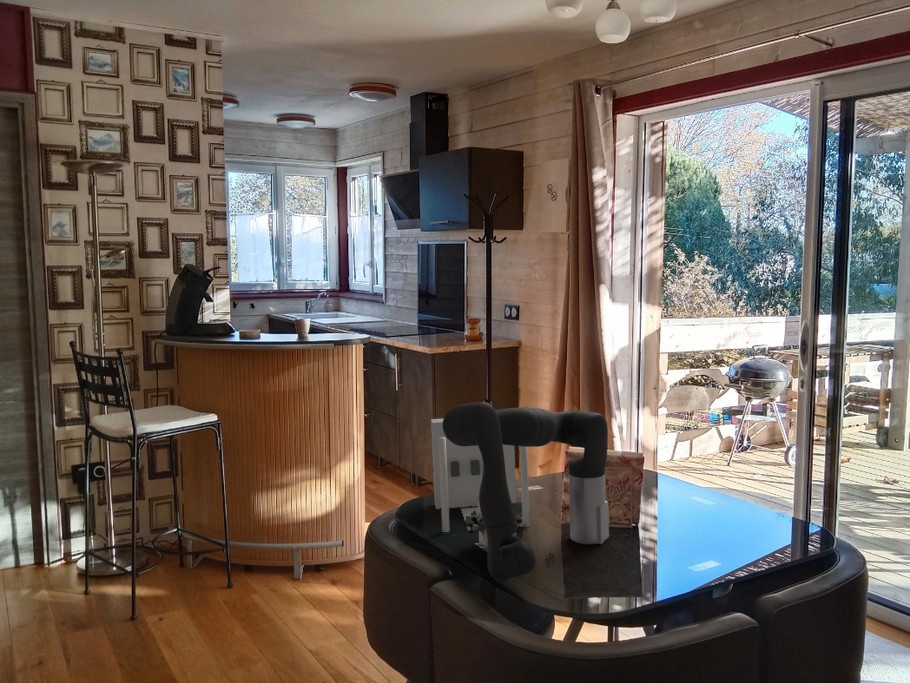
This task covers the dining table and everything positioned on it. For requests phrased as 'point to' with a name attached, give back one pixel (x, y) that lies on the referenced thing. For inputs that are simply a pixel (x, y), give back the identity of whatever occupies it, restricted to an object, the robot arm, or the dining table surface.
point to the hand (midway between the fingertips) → (489, 513)
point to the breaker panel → (465, 470)
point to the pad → (468, 511)
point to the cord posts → (445, 485)
